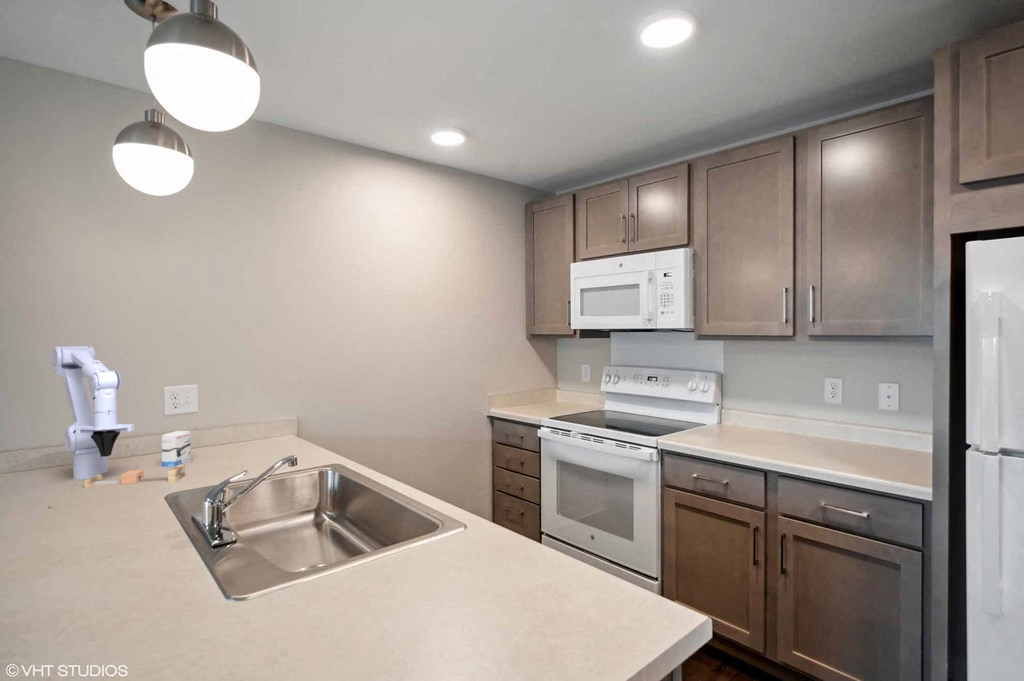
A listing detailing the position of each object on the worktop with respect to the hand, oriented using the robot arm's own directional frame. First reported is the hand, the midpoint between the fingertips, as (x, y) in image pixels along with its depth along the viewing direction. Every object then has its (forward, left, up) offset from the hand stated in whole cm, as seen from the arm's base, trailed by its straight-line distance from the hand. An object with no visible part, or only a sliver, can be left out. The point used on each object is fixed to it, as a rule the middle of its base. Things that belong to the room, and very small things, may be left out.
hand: (106, 455), depth 154 cm
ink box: (-21, +11, -10) cm, 26 cm away
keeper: (0, +7, -8) cm, 11 cm away
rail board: (0, +8, -9) cm, 12 cm away
